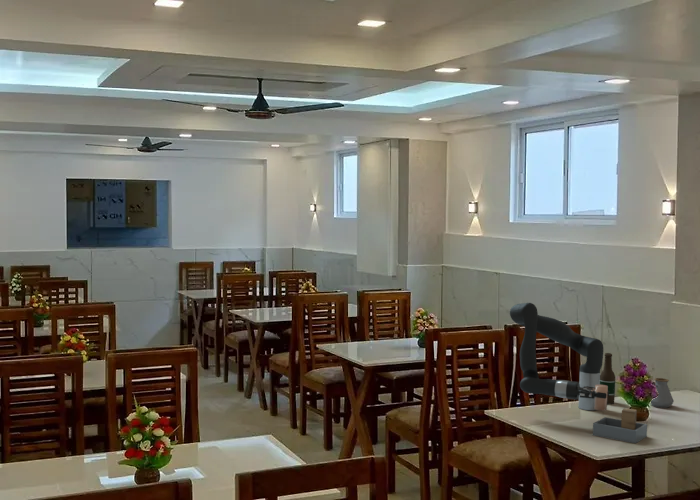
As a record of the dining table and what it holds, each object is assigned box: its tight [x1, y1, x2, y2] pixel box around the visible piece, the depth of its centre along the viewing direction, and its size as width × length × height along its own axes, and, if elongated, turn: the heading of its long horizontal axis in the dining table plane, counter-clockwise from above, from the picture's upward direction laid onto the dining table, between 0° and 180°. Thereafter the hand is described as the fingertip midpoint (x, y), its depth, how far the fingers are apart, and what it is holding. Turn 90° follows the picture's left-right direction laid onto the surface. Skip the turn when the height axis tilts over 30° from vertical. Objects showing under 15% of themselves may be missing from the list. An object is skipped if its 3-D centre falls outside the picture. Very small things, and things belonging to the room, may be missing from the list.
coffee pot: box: [650, 377, 674, 409], centre depth 391 cm, size 21×12×15 cm, turn 116°
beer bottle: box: [600, 352, 616, 405], centre depth 397 cm, size 8×8×24 cm
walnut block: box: [620, 407, 638, 430], centre depth 335 cm, size 5×5×10 cm
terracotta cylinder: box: [594, 385, 608, 411], centre depth 348 cm, size 5×5×10 cm
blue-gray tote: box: [592, 416, 648, 444], centre depth 338 cm, size 14×18×5 cm
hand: (607, 394), depth 347 cm, fingers closed on terracotta cylinder, 5 cm apart
